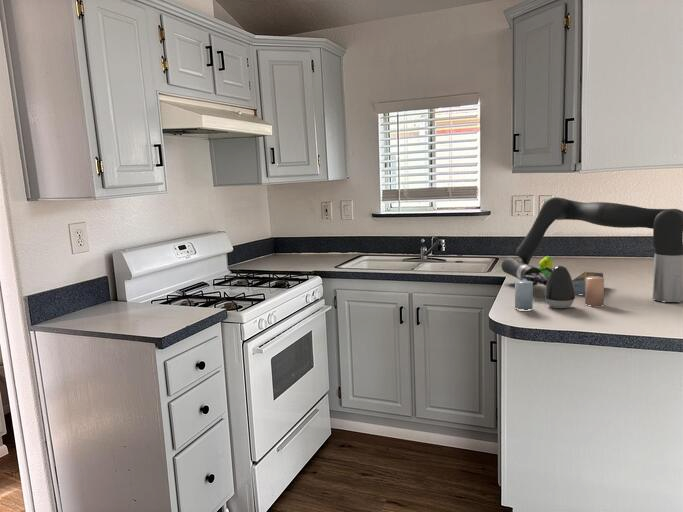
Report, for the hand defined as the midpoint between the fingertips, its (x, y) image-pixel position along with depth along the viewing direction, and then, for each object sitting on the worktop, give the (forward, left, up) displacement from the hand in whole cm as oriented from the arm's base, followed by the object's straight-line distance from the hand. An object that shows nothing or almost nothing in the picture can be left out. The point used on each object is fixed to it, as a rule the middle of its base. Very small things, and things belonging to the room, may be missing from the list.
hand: (547, 282), depth 197 cm
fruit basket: (+19, -35, -7) cm, 40 cm away
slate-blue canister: (+1, +16, -7) cm, 18 cm away
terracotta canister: (-16, -4, -7) cm, 18 cm away
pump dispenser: (-7, +6, -7) cm, 12 cm away
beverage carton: (-5, -25, -8) cm, 27 cm away
